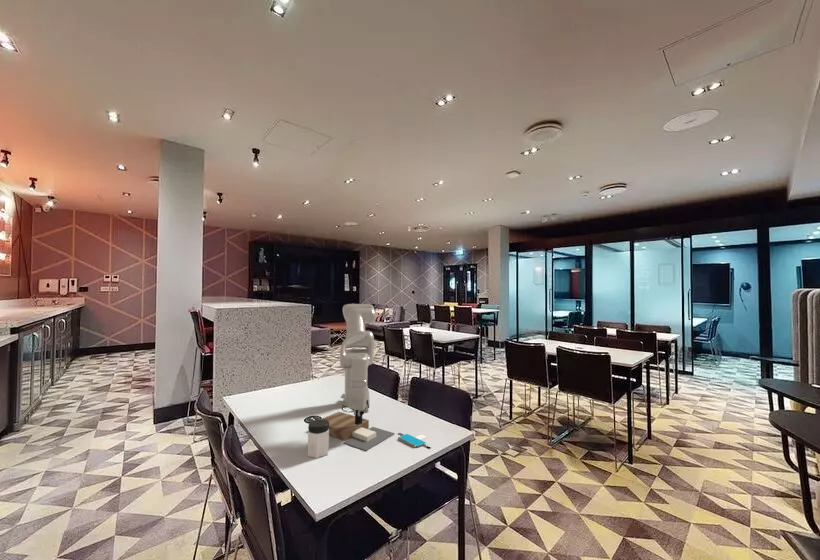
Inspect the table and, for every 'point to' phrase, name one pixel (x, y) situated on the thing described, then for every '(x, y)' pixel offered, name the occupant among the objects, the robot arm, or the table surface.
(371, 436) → the cream flat block
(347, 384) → the robot arm
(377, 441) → the mat
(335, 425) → the platform
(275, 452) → the table surface
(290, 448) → the table surface
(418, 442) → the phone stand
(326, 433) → the jar
